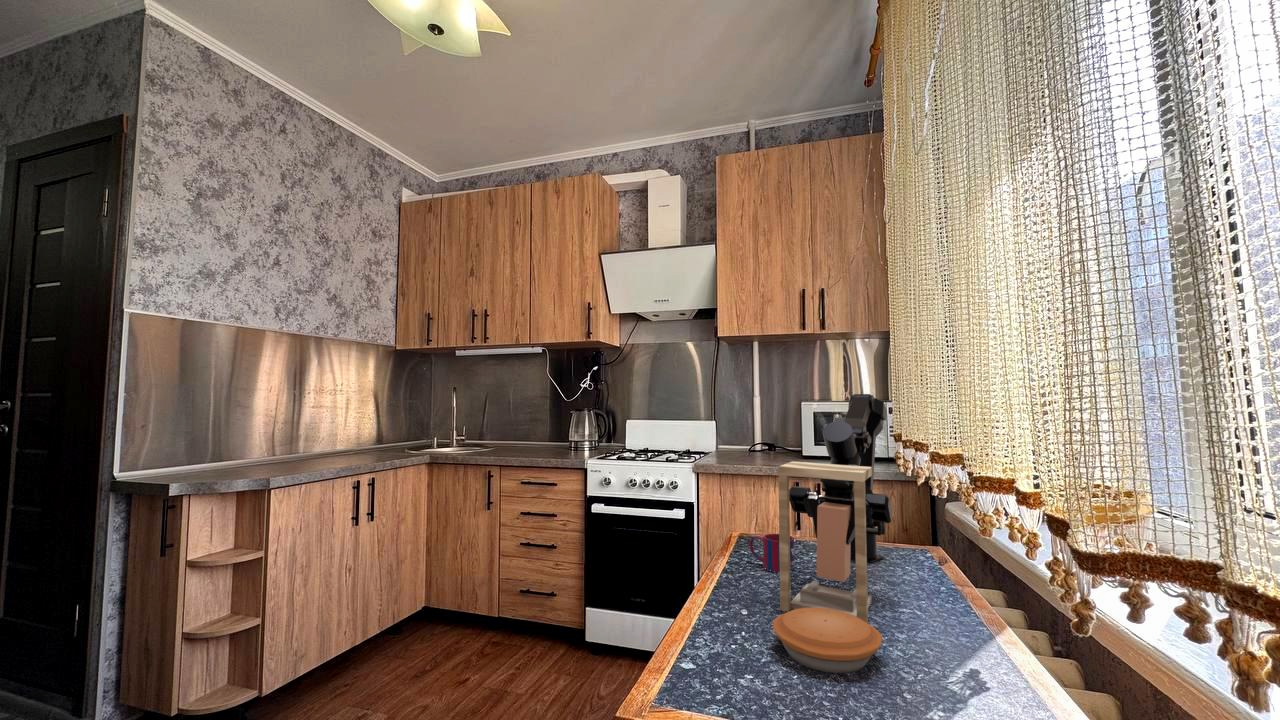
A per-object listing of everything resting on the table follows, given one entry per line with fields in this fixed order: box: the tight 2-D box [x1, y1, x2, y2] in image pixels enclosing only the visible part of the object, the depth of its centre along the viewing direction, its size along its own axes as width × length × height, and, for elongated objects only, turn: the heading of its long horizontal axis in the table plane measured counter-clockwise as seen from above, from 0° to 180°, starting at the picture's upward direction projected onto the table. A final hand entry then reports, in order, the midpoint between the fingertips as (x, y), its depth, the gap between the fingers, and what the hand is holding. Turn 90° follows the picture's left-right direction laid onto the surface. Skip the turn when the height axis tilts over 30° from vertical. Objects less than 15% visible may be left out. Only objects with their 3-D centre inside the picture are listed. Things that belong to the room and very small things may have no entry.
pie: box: [772, 607, 883, 674], centre depth 82 cm, size 16×16×5 cm
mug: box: [749, 533, 796, 573], centre depth 123 cm, size 7×10×7 cm
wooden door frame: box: [777, 461, 873, 624], centre depth 101 cm, size 14×14×26 cm
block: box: [816, 502, 851, 583], centre depth 103 cm, size 5×5×13 cm
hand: (832, 541), depth 102 cm, fingers closed on block, 5 cm apart
